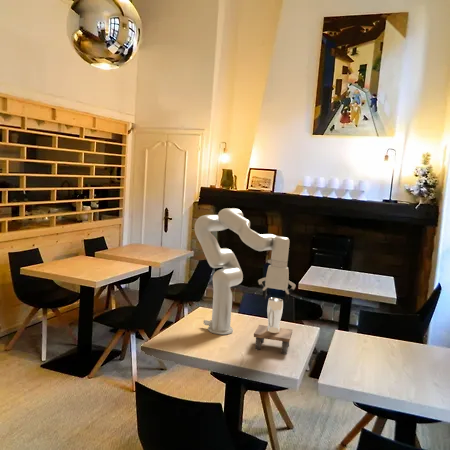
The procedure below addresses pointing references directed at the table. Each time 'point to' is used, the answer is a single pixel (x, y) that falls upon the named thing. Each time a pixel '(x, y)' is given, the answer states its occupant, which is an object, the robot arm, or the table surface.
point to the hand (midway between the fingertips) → (275, 300)
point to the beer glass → (274, 315)
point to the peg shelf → (272, 337)
